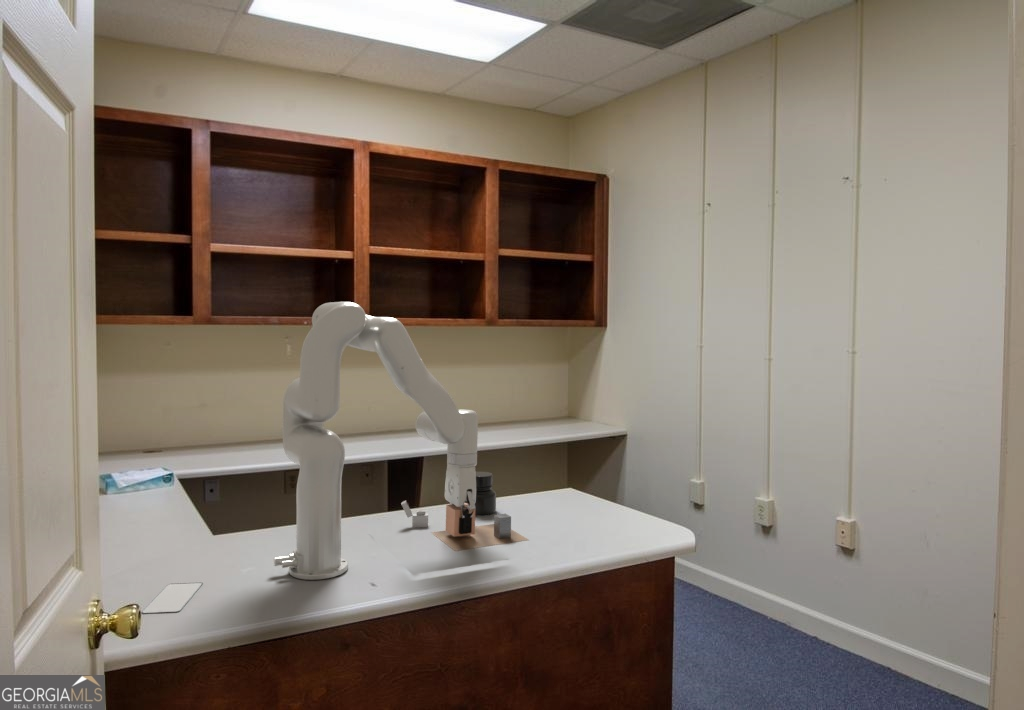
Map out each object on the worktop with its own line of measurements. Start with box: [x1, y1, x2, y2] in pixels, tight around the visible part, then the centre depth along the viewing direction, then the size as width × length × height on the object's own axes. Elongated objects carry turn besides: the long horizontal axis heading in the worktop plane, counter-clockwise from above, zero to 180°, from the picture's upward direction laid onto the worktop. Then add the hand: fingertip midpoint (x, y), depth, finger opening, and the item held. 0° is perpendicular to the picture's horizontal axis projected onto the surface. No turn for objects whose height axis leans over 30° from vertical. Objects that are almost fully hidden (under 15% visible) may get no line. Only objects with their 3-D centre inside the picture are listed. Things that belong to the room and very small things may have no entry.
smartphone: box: [140, 582, 204, 615], centre depth 138 cm, size 7×1×15 cm
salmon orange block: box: [445, 503, 476, 537], centre depth 176 cm, size 6×6×7 cm
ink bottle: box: [467, 471, 497, 517], centre depth 199 cm, size 10×9×12 cm
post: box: [493, 513, 512, 539], centre depth 176 cm, size 3×3×5 cm
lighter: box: [400, 500, 429, 528], centre depth 184 cm, size 7×2×8 cm, turn 98°
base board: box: [430, 523, 529, 552], centre depth 176 cm, size 20×16×1 cm
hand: (460, 529), depth 176 cm, fingers closed on salmon orange block, 5 cm apart
